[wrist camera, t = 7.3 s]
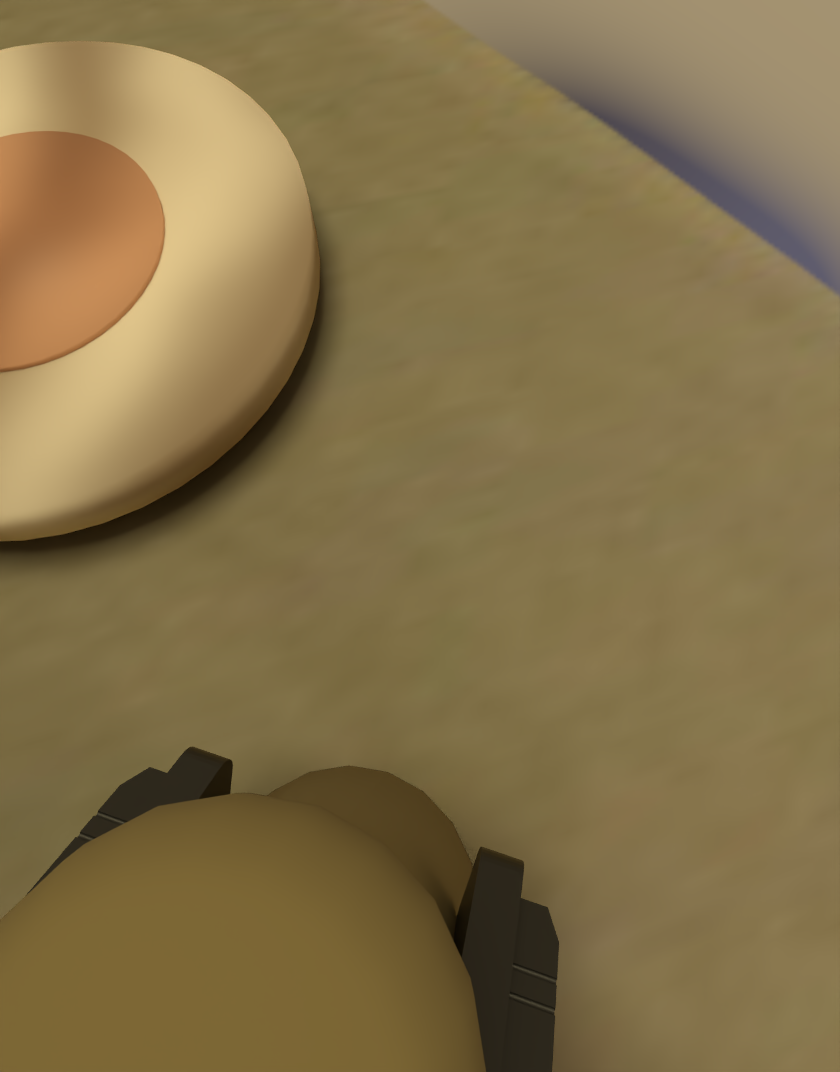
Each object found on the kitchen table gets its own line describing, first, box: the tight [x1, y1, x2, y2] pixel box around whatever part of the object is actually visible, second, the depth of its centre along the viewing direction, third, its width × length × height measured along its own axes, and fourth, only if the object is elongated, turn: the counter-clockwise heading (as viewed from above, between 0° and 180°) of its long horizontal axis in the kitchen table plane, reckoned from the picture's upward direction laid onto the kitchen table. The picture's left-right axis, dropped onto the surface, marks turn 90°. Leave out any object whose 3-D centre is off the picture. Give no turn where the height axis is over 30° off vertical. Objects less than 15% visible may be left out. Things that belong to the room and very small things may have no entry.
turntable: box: [0, 41, 320, 541], centre depth 20 cm, size 16×16×3 cm
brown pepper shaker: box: [0, 766, 486, 1072], centre depth 10 cm, size 6×6×11 cm
